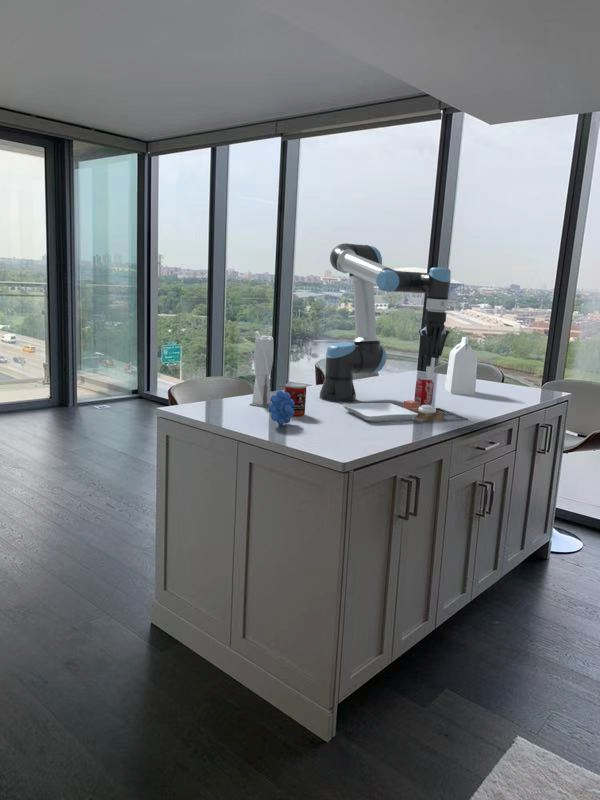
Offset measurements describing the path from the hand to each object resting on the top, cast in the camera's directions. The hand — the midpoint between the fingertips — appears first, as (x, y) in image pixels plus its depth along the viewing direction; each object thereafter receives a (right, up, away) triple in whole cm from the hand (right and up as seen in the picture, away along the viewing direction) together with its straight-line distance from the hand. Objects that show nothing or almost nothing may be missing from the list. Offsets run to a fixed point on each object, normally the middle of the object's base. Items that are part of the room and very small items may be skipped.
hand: (429, 374), depth 228 cm
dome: (-1, -15, +1) cm, 15 cm away
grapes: (-54, -18, -23) cm, 61 cm away
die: (-5, -14, +11) cm, 19 cm away
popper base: (-1, -16, +1) cm, 16 cm away
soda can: (+2, -13, +22) cm, 25 cm away
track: (+7, -15, +9) cm, 19 cm away
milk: (+27, -6, +63) cm, 69 cm away
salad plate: (-19, -16, 0) cm, 25 cm away
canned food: (-50, -15, -5) cm, 53 cm away
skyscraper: (-63, -11, +9) cm, 65 cm away
